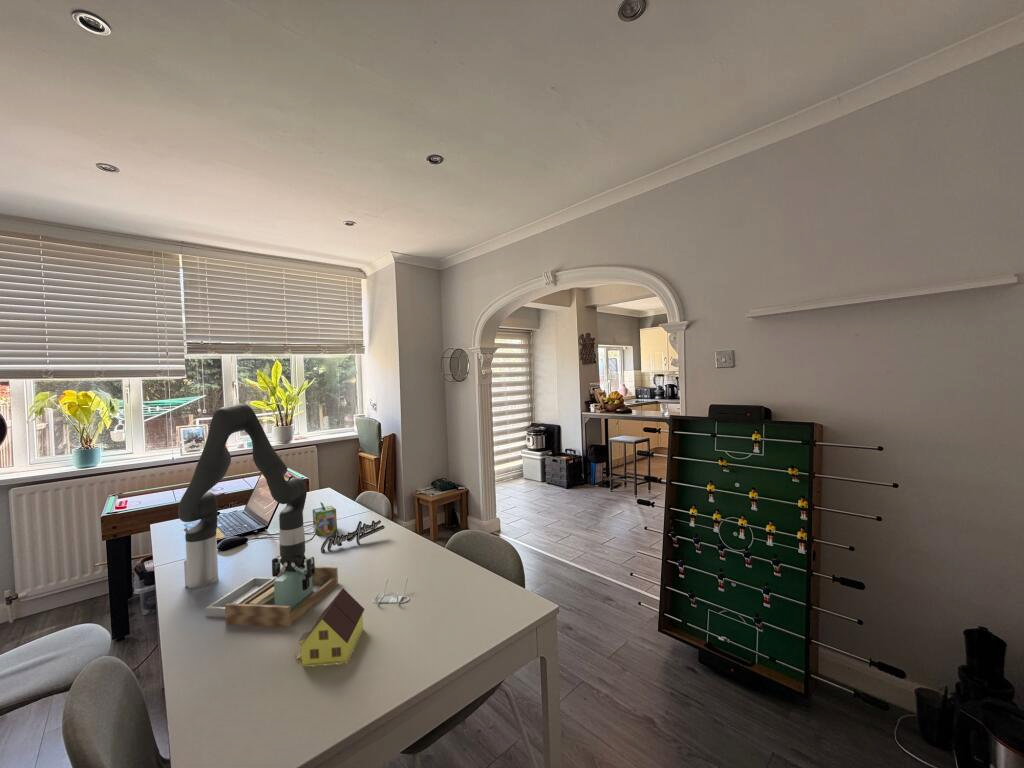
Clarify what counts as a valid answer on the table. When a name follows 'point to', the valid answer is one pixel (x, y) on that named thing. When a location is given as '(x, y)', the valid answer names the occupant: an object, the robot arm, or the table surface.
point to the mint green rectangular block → (290, 589)
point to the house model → (333, 633)
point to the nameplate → (352, 535)
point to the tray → (238, 595)
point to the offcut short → (264, 597)
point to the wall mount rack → (391, 597)
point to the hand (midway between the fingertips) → (294, 588)
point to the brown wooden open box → (278, 613)
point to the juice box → (324, 520)
